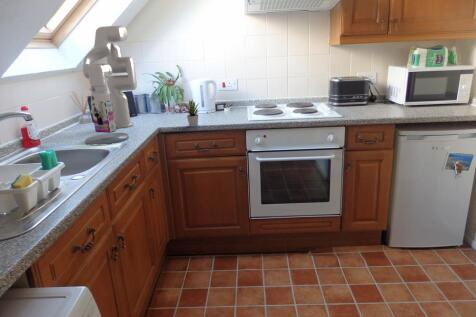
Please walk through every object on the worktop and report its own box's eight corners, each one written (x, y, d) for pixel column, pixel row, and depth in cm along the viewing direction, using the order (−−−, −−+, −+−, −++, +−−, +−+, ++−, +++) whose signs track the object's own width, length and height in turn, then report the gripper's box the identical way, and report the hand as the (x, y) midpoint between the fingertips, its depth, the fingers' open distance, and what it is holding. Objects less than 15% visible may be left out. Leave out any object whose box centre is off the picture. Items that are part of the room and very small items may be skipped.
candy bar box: (117, 131, 191) (112, 100, 186) (110, 133, 186) (104, 101, 182) (102, 130, 196) (97, 100, 191) (95, 132, 191) (89, 101, 187)
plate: (76, 143, 188) (76, 140, 188) (108, 134, 207) (108, 131, 206) (106, 146, 178) (105, 143, 178) (137, 136, 197) (136, 133, 196)
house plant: (178, 124, 222) (175, 98, 217) (199, 121, 227) (196, 96, 222) (184, 128, 209) (181, 100, 204) (206, 125, 214) (204, 98, 210)
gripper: (90, 91, 176) (97, 127, 181) (116, 87, 190) (121, 121, 195) (80, 91, 179) (86, 126, 184) (106, 87, 193) (111, 120, 199)
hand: (104, 123), depth 190 cm, fingers closed on candy bar box, 5 cm apart
